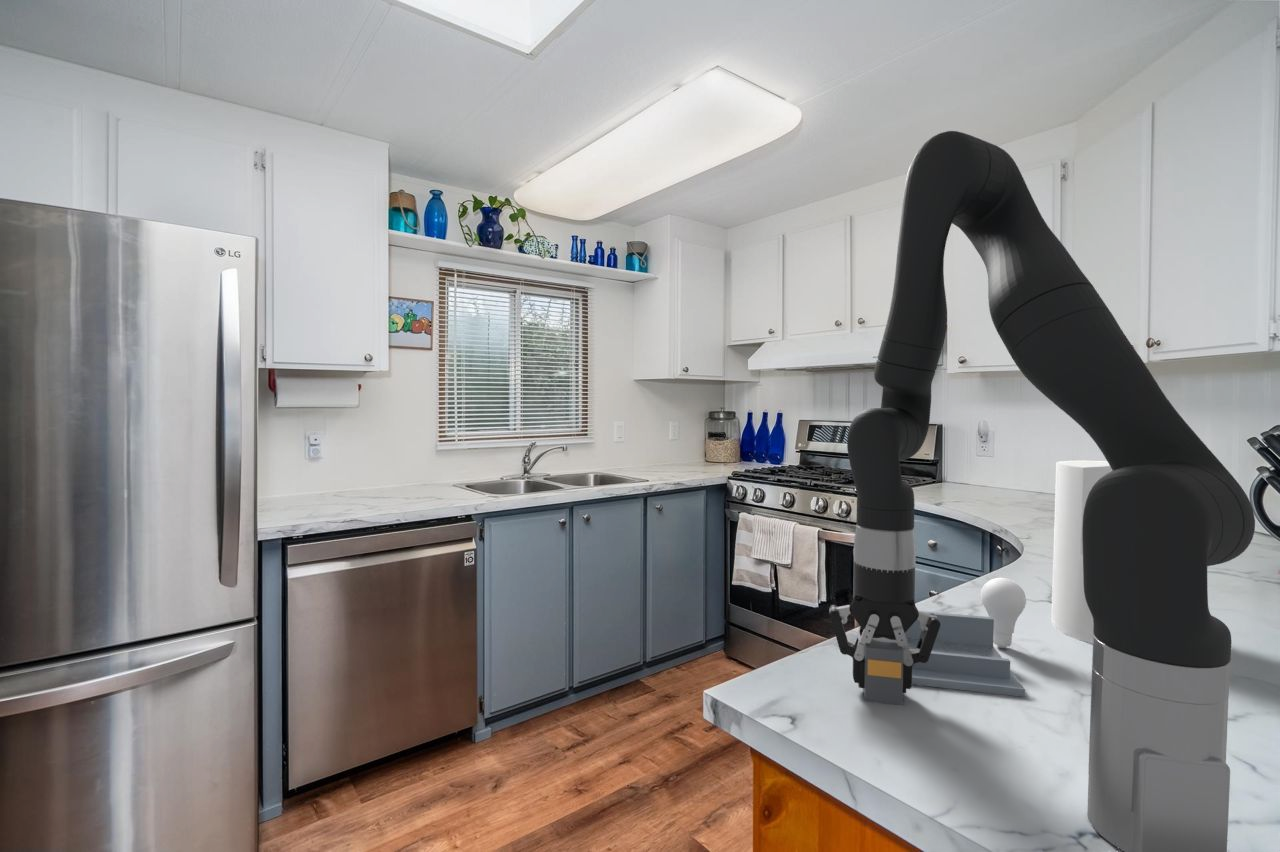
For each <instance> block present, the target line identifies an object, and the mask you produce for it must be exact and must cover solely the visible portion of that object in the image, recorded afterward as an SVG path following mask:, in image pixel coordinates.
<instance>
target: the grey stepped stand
mask: <svg viewBox="0 0 1280 852" xmlns="http://www.w3.org/2000/svg"><path fill="white" fill-rule="evenodd" d="M919 611H920V610H919ZM920 612H923V613H926V614H930V613H933V614H935V615H936V617H937V618H938V620H939V622H940V624H941V625H940V628H939V631H938V634H937V637H936V640H935V641H944V642H954V643H965V644H976V645H987V646H993V647H994V643H993V632H994V619H993V618H992V617H989V616H982V615H971V614H970V615H969V614H957V613H948V612H947V613H946V612H934V611H922V610H921V611H920ZM921 632H922V630H921V628H920V626H919V620H916V621H915V622H914V623H913V624H912V626H911V627H910V628H909V629H908V630H907V631H906V632H905V636H906V638H912V639H919V637H920V635H921ZM910 650H912V649H910ZM912 685H916V686H926V687H933V688H943V689H951V690H960V691H961V690H962V691H969V692H970V691H971V692H979V693H985V694H986V693H987V694H996V695H1003V696H1004V695H1007V696H1014V697H1015V696H1016V697H1023V698H1024V697H1026V688H1025V687H1024V686H1023V685H1022V683H1021V682H1020V681H1019V679H1018V678H1017V677H1016V675H1015V674H1014V673H1013V672H1012V669H1011V660H1010V659H1009V658H1004V657H1002V658H995V657H985V656H975V655H964V654H954V653H944V652H934V651H931V654H930V657H929V660H928V662H926V663H922V662H918V663H915V664H914V665H913V666H912Z"/></svg>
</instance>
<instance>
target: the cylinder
mask: <svg viewBox="0 0 1280 852" xmlns="http://www.w3.org/2000/svg"><path fill="white" fill-rule="evenodd" d="M1111 471H1113V470H1112V469H1111V467H1110V465H1109V463H1108V462H1107V460H1093V459H1092V460H1090V459H1089V460H1087V459H1086V460H1081V459H1080V460H1076V459H1075V460H1060V461H1056V463H1055V489H1054V491H1055V492H1054V521H1053V522H1054V523H1053V551H1052V552H1053V553H1052V583H1051V584H1052V589H1051V616H1050V617H1051V620H1050V621H1051V625H1052V626H1053V627H1054V628H1055V629H1056V630H1057V631H1059V632H1060V633H1062V634H1065V635H1066V636H1068V635H1069V637H1071V638H1073V639H1076V640H1079V641H1082V642H1084V643H1088V644H1091V645H1093V627H1094V623H1093V617H1092V614H1091V612H1090V610H1089V607H1088V605H1087V602H1086V599H1085V594H1084V581H1083V542H1082V527H1083V514H1084V508H1085V503H1086V500H1087V497H1088V495H1089V492H1090V491H1091V489H1092V487H1093V486H1094V484H1095V483H1096V482H1097V481H1098V480H1099V479H1100V478H1102V477H1103V476H1104V475H1106V474H1107V473H1109V472H1111Z"/></svg>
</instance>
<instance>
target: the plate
mask: <svg viewBox="0 0 1280 852" xmlns="http://www.w3.org/2000/svg"><path fill="white" fill-rule="evenodd" d="M906 639H907V643H908V646H909V649H916V646H917V643H918V640H919V639H912V638H906ZM932 651H934V652H944V653H954V654H964V655H975V656H985V657H995V658H1003V657H1002V656H1001V654H1000V653H999V651H998V650H997V649H996V648H995V646H994V645H993V646H987V645H976V644H965V643H954V642H944V641H935V643H934V645H933V648H932Z"/></svg>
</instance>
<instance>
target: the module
mask: <svg viewBox="0 0 1280 852" xmlns="http://www.w3.org/2000/svg"><path fill="white" fill-rule="evenodd" d="M903 656H904V651H903V648H899V647H898V644H897V641H896V640H890V639H887V638H884V637H882V638H872V640H871V642H870V645H865V656H864V661H865V670H864V688H862V692H863V697H864V701H865V702H873V703H882V704H891V705H898V706H899V705H900V706H903V696H904V693H903Z"/></svg>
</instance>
